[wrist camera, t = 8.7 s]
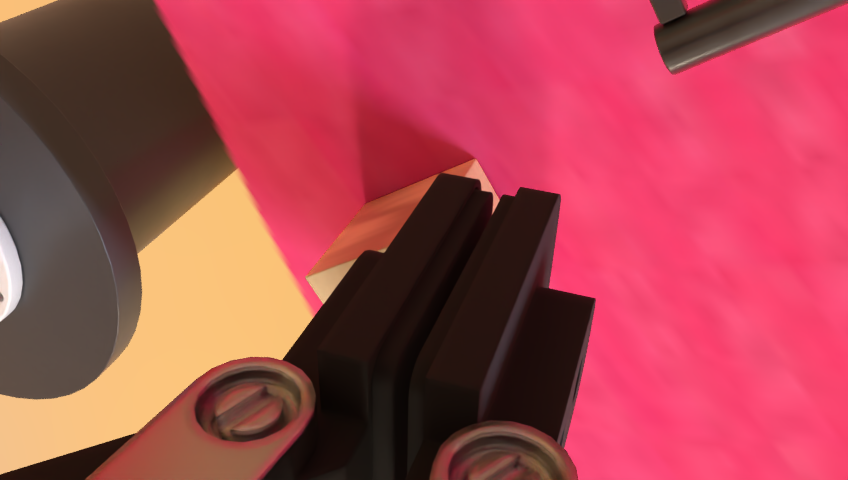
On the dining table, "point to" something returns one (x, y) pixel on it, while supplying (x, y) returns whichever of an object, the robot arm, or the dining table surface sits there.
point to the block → (379, 228)
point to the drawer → (724, 26)
